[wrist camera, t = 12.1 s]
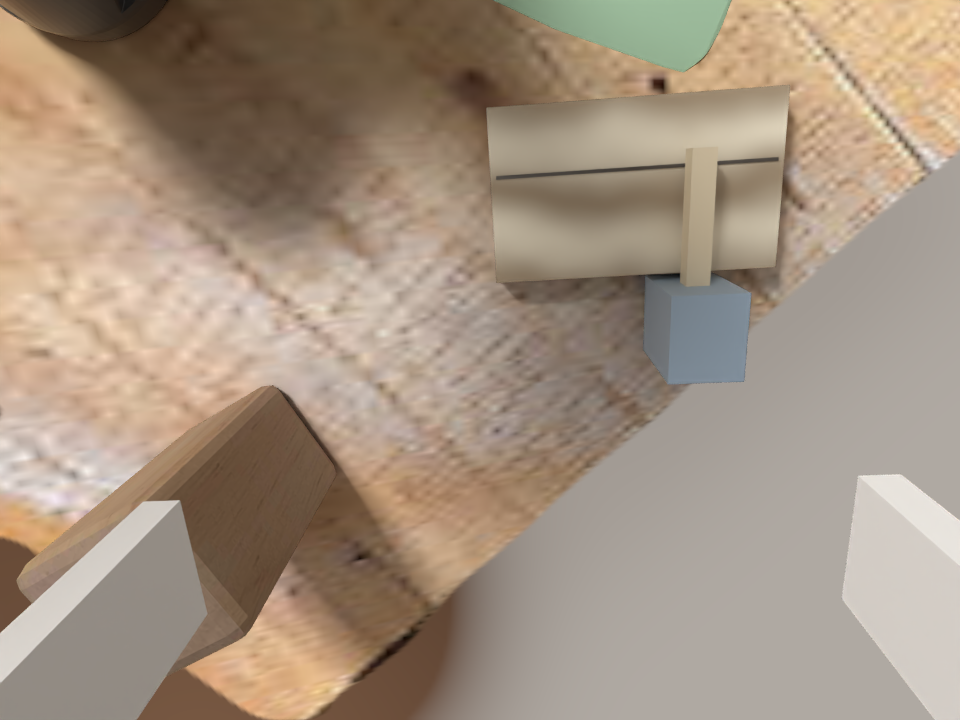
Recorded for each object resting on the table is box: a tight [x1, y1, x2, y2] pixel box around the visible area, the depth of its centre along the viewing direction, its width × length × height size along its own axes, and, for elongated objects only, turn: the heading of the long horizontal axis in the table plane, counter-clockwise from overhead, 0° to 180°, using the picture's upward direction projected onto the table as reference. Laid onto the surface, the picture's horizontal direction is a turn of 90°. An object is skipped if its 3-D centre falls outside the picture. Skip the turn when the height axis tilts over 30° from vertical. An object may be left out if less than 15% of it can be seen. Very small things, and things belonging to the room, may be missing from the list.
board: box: [486, 85, 790, 283], centre depth 44 cm, size 12×20×3 cm, turn 94°
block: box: [17, 385, 336, 676], centre depth 43 cm, size 10×10×20 cm
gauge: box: [643, 147, 751, 384], centre depth 42 cm, size 15×5×8 cm, turn 3°
